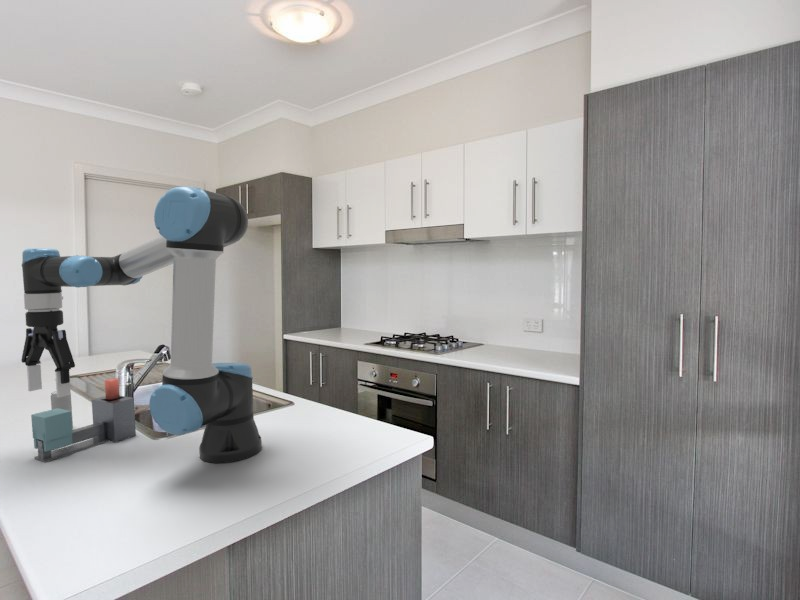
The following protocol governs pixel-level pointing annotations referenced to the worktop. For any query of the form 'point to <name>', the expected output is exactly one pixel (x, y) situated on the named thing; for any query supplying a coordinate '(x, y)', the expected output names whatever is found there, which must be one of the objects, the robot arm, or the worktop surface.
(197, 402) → the robot arm
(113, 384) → the red block
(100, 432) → the rail station
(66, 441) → the carriage
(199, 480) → the worktop surface
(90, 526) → the worktop surface
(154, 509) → the worktop surface
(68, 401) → the beverage can
